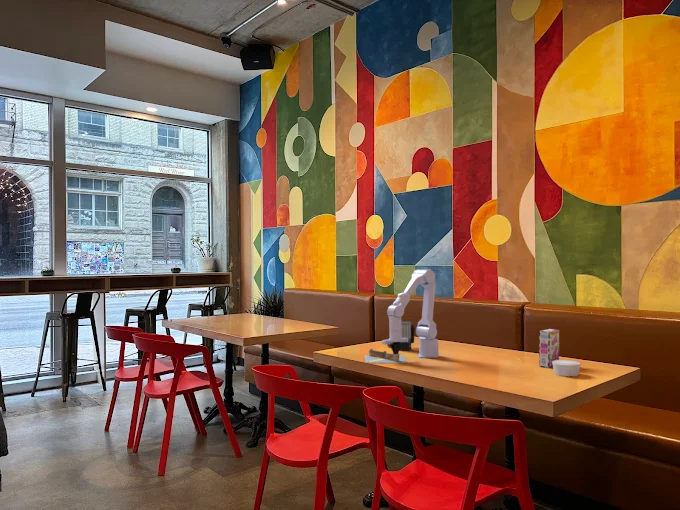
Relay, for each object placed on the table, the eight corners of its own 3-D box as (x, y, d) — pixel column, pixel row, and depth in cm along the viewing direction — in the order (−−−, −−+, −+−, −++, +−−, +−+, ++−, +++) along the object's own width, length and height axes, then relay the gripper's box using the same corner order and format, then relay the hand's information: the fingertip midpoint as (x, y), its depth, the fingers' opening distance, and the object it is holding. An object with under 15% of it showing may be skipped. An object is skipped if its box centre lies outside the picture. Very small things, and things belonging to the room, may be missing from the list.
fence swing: (385, 358, 254) (385, 351, 254) (387, 358, 255) (387, 351, 255) (397, 361, 246) (397, 354, 246) (400, 361, 247) (400, 354, 247)
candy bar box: (549, 368, 233) (549, 331, 233) (538, 366, 236) (538, 330, 236) (560, 364, 240) (559, 329, 241) (549, 363, 244) (549, 328, 244)
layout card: (403, 355, 264) (403, 355, 264) (407, 363, 245) (407, 362, 245) (364, 355, 264) (364, 355, 264) (365, 363, 245) (365, 362, 245)
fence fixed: (370, 355, 263) (370, 348, 263) (387, 358, 256) (387, 351, 256) (368, 356, 262) (368, 348, 262) (384, 359, 254) (384, 351, 254)
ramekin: (564, 378, 213) (564, 365, 213) (546, 372, 224) (546, 360, 224) (586, 376, 216) (586, 364, 217) (568, 371, 227) (567, 359, 227)
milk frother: (408, 351, 276) (408, 323, 276) (380, 349, 283) (380, 322, 283) (416, 347, 289) (416, 320, 289) (390, 345, 296) (389, 319, 296)
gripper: (401, 327, 258) (402, 355, 257) (378, 330, 250) (378, 358, 250) (411, 329, 252) (411, 357, 252) (387, 331, 244) (387, 360, 244)
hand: (395, 358), depth 250 cm, fingers closed, pressing on fence swing
